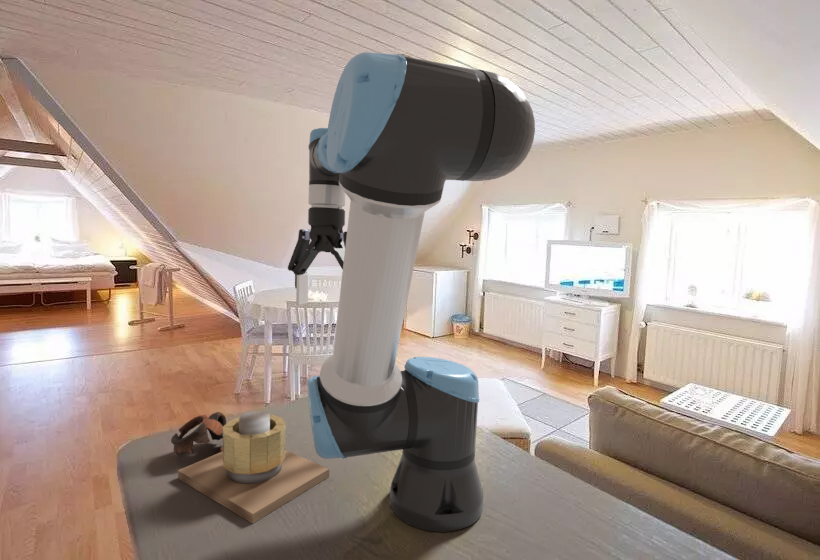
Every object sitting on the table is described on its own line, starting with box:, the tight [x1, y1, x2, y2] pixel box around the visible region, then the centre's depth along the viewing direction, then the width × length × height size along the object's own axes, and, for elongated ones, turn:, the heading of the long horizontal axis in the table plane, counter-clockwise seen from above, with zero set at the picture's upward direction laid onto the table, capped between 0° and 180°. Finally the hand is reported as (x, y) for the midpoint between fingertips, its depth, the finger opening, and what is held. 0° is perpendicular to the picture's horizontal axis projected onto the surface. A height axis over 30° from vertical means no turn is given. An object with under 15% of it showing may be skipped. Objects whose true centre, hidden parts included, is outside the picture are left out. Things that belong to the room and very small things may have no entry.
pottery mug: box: [170, 411, 227, 455], centre depth 88 cm, size 12×10×8 cm
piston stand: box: [177, 410, 330, 524], centre depth 78 cm, size 20×16×11 cm
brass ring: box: [222, 413, 287, 475], centre depth 78 cm, size 10×10×6 cm
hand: (324, 308), depth 97 cm, fingers open, 13 cm apart
